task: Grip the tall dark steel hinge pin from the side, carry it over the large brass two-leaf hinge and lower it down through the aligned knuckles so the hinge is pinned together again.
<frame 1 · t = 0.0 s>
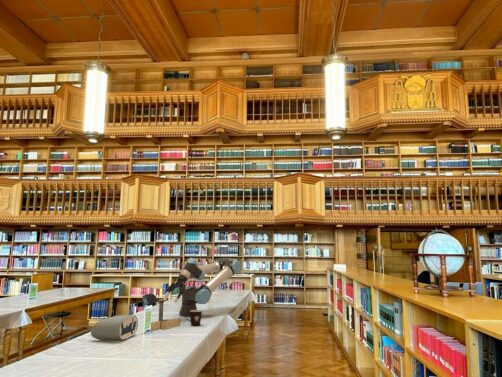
hand: (169, 300, 280), 15 cm above the table, tool tilted 35°, fingers open, 13 cm apart
coffee mug: (193, 325, 269), on the table
hinge leaf b: (157, 325, 254), point 3 cm above the table, hinge at 0.0°, touching hinge leaf a
pencil case: (114, 338, 229), on the table
hinge leaf a: (163, 328, 258), on the table
hinge pin: (160, 324, 271), on the table
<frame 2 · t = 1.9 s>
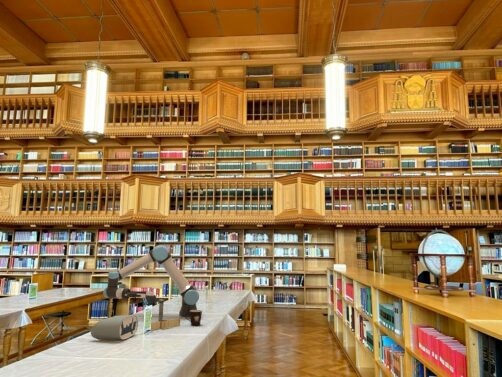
hand: (149, 294, 276), 20 cm above the table, tool horizontal, fingers open, 13 cm apart
nothing on the table moved.
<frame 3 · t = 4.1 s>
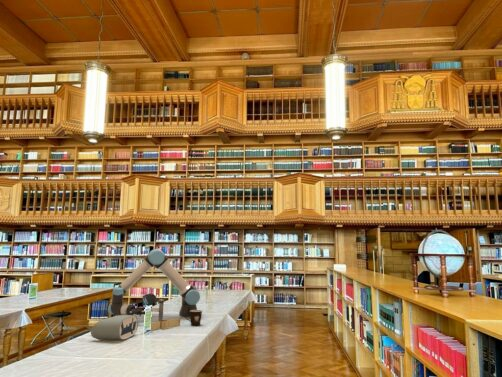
hand: (154, 311, 273), 9 cm above the table, tool horizontal, fingers open, 13 cm apart
nothing on the table moved.
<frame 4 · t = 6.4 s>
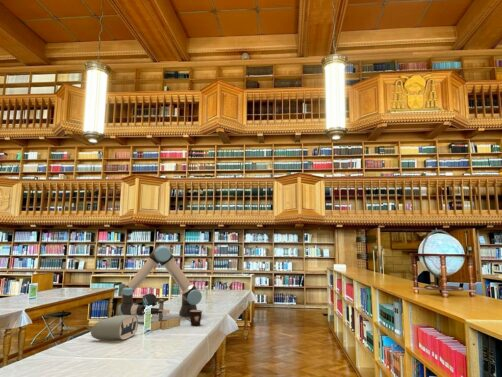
hand: (168, 311, 271), 9 cm above the table, tool horizontal, fingers closed on hinge pin, 3 cm apart
hinge pin: (160, 324, 271), on the table, touching gripper
everything else where it was.
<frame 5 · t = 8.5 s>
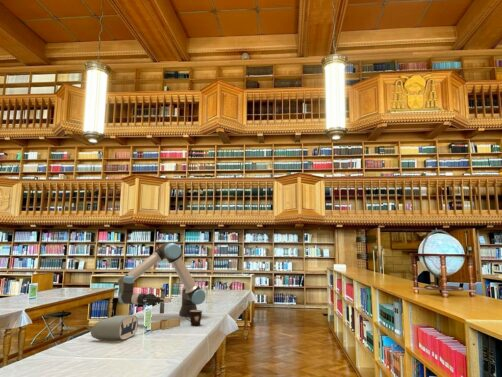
hand: (169, 300, 262), 18 cm above the table, tool horizontal, fingers closed on hinge pin, 3 cm apart
hinge pin: (161, 313, 262), point 9 cm above the table, touching gripper
everything else where it was.
when the fingers open (10 cm above the table, at t = 10.9 s): hinge pin drops 1 cm, resting in hinge leaf a.
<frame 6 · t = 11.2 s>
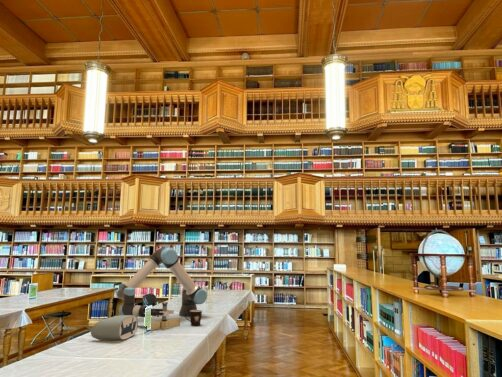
hand: (170, 313, 258), 10 cm above the table, tool horizontal, fingers open, 8 cm apart
hinge pin: (163, 328, 258), resting in hinge leaf a
everything else where it was.
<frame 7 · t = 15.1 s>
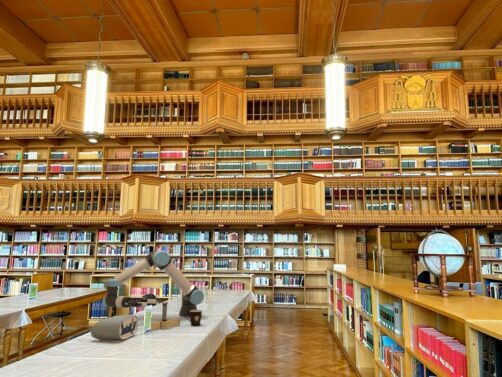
hand: (151, 302, 262), 16 cm above the table, tool horizontal, fingers open, 13 cm apart
nothing on the table moved.
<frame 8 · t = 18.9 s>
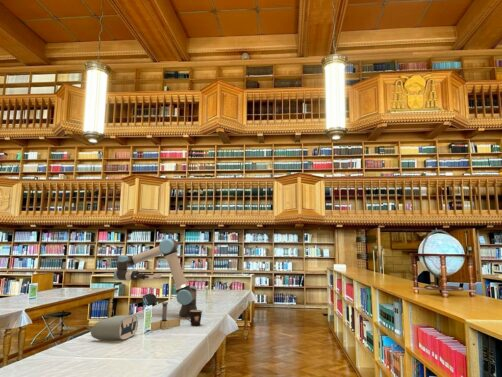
hand: (157, 276, 295), 32 cm above the table, tool horizontal, fingers open, 13 cm apart
nothing on the table moved.
at the end: hinge pin 0.1 cm off-centre on the hinge leaf a, point 0.0 cm above the hinge leaf a's base; hinge pin tilted 0°; the gripper is holding nothing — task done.
